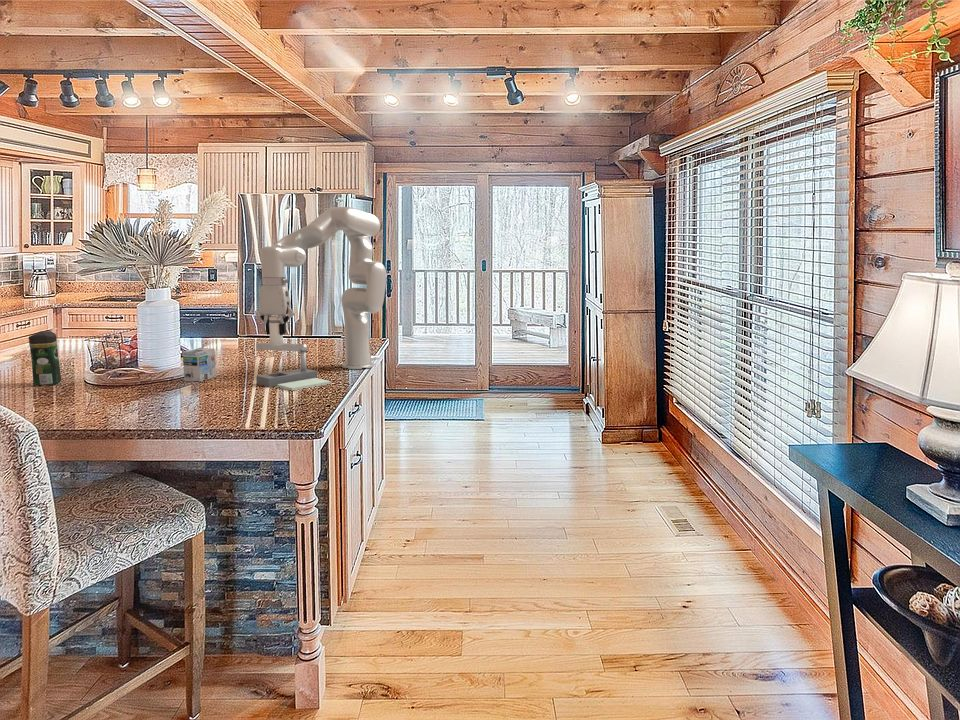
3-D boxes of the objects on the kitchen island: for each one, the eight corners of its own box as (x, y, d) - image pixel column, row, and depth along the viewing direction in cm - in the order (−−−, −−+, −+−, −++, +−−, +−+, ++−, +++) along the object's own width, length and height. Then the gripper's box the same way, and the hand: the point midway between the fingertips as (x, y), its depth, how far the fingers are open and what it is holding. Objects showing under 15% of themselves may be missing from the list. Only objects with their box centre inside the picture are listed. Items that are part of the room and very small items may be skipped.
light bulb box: (200, 382, 257) (198, 352, 255) (183, 381, 258) (181, 351, 256) (217, 376, 267) (215, 348, 265) (200, 375, 268) (198, 347, 267)
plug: (278, 343, 257) (277, 315, 255) (285, 344, 254) (284, 316, 252) (267, 344, 254) (266, 316, 252) (274, 346, 251) (273, 317, 249)
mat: (315, 380, 261) (315, 377, 261) (331, 384, 255) (330, 381, 255) (277, 387, 249) (277, 384, 249) (292, 391, 243) (292, 388, 243)
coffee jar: (38, 382, 256) (33, 330, 252) (63, 380, 258) (58, 329, 255) (30, 387, 246) (24, 333, 243) (56, 386, 249) (51, 333, 245)
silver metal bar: (308, 350, 263) (307, 344, 263) (304, 351, 261) (304, 345, 260) (259, 348, 267) (259, 342, 267) (255, 349, 264) (255, 343, 264)
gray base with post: (304, 376, 269) (303, 349, 267) (317, 379, 264) (316, 351, 262) (256, 384, 254) (255, 355, 252) (269, 387, 249) (267, 358, 247)
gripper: (300, 282, 252) (303, 333, 255) (256, 281, 255) (259, 332, 258) (291, 283, 245) (293, 336, 248) (245, 282, 248) (248, 335, 251)
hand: (276, 333), depth 253 cm, fingers closed on plug, 4 cm apart
